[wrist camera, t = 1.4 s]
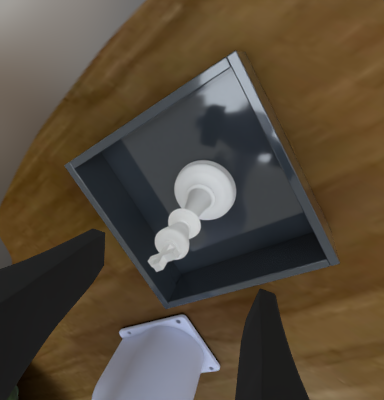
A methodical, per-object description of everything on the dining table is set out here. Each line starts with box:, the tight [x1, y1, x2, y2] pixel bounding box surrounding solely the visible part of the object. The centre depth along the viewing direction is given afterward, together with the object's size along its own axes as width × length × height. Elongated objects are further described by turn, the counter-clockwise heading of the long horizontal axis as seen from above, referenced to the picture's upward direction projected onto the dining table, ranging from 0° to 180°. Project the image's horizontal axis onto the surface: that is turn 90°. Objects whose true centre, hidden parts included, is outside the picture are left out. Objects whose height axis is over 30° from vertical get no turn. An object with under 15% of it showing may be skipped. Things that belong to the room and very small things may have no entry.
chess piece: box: [148, 160, 236, 272], centre depth 19 cm, size 5×5×10 cm
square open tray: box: [64, 50, 340, 309], centre depth 22 cm, size 14×14×4 cm
